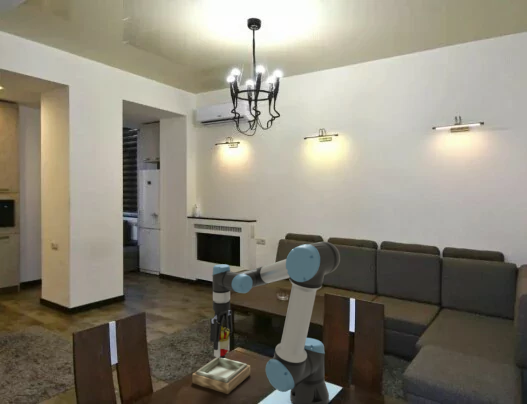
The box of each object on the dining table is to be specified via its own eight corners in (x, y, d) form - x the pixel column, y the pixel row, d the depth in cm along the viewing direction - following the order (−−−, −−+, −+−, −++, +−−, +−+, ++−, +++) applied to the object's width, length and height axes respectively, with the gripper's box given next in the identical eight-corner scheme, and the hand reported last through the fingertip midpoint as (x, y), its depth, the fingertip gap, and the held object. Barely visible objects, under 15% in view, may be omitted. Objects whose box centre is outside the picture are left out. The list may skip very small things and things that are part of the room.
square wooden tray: (250, 374, 161) (250, 363, 161) (227, 394, 145) (227, 382, 145) (217, 365, 169) (217, 355, 169) (192, 383, 153) (192, 371, 153)
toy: (232, 354, 159) (232, 321, 159) (226, 362, 153) (226, 327, 152) (217, 352, 161) (217, 319, 161) (210, 360, 154) (210, 325, 154)
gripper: (226, 294, 167) (227, 343, 167) (200, 305, 150) (201, 360, 150) (240, 296, 163) (240, 346, 164) (215, 308, 146) (215, 364, 147)
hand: (221, 353), depth 157 cm, fingers closed on toy, 6 cm apart
